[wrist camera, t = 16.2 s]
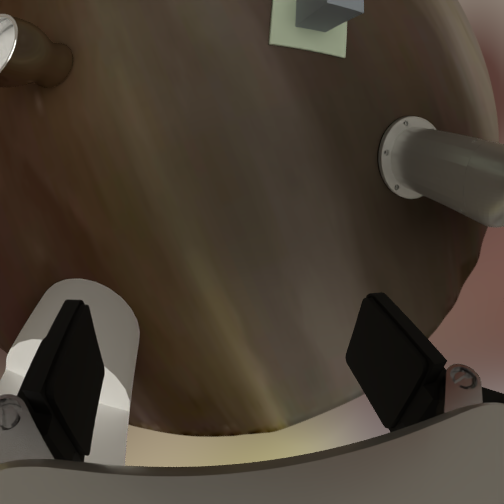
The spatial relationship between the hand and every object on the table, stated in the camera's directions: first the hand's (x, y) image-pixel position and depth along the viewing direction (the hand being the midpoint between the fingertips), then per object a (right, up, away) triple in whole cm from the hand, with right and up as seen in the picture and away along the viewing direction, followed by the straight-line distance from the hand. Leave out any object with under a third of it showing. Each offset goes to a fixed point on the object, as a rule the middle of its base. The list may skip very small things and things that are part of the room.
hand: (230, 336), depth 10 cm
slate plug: (+8, +32, +20) cm, 39 cm away
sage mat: (+8, +32, +21) cm, 39 cm away
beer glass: (-24, +26, +18) cm, 40 cm away
